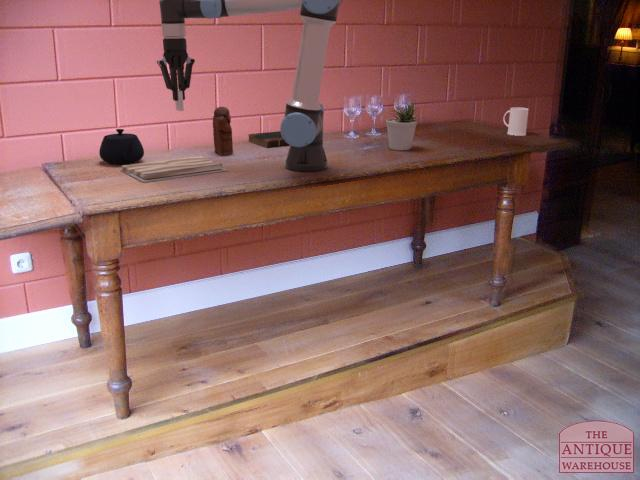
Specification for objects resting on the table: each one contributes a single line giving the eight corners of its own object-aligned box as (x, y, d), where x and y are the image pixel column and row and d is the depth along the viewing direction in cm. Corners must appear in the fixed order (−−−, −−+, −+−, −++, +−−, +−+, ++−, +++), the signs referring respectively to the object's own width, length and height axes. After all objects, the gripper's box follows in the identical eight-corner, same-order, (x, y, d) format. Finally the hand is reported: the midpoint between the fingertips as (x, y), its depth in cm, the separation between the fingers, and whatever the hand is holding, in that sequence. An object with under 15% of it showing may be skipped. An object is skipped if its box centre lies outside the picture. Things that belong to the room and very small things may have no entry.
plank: (222, 168, 230) (222, 164, 230) (145, 179, 214) (145, 174, 214) (207, 163, 238) (207, 159, 238) (133, 173, 223) (132, 168, 222)
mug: (497, 133, 311) (500, 107, 307) (508, 131, 316) (510, 105, 312) (519, 136, 302) (522, 110, 298) (529, 134, 308) (532, 108, 304)
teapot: (92, 158, 246) (88, 126, 242) (132, 154, 254) (130, 122, 250) (112, 172, 226) (109, 136, 222) (156, 167, 234) (154, 132, 230)
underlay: (228, 170, 230) (228, 169, 230) (143, 183, 213) (143, 181, 212) (201, 160, 245) (201, 159, 245) (120, 171, 228) (120, 169, 228)
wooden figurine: (236, 155, 255) (234, 108, 249) (220, 156, 253) (218, 109, 247) (227, 149, 265) (225, 104, 259) (211, 150, 263) (209, 105, 257)
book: (296, 137, 296) (247, 142, 283) (296, 129, 295) (247, 134, 282) (318, 143, 282) (267, 149, 269) (318, 135, 281) (267, 140, 268)
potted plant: (402, 153, 263) (405, 102, 256) (378, 148, 273) (380, 99, 266) (423, 149, 270) (427, 100, 264) (399, 144, 280) (402, 96, 274)
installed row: (209, 163, 240) (209, 159, 239) (129, 173, 223) (129, 169, 222) (200, 159, 245) (200, 155, 244) (122, 169, 228) (121, 165, 227)
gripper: (186, 36, 222) (191, 107, 230) (150, 37, 215) (157, 110, 222) (197, 37, 217) (202, 109, 224) (161, 38, 209) (167, 113, 217)
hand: (179, 110), depth 223 cm, fingers closed
